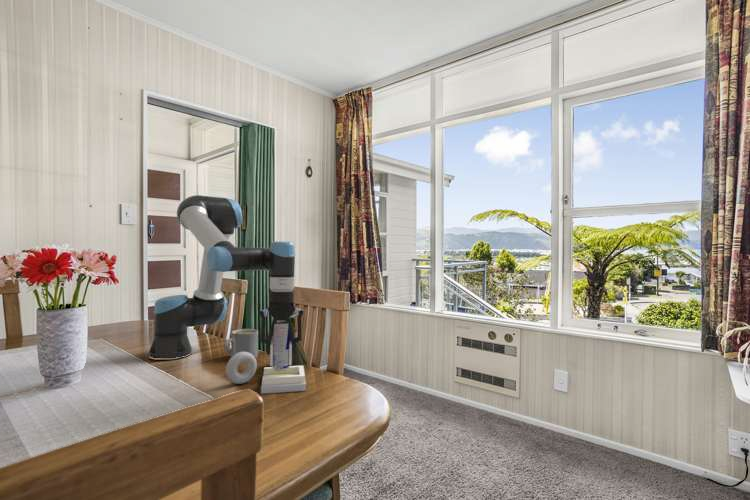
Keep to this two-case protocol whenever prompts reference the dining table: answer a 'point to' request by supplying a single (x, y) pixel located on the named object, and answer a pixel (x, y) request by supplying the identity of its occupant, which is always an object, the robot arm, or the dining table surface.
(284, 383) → the tray
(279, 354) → the beverage can
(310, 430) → the dining table surface
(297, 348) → the figurine
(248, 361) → the donut
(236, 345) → the coffee mug
